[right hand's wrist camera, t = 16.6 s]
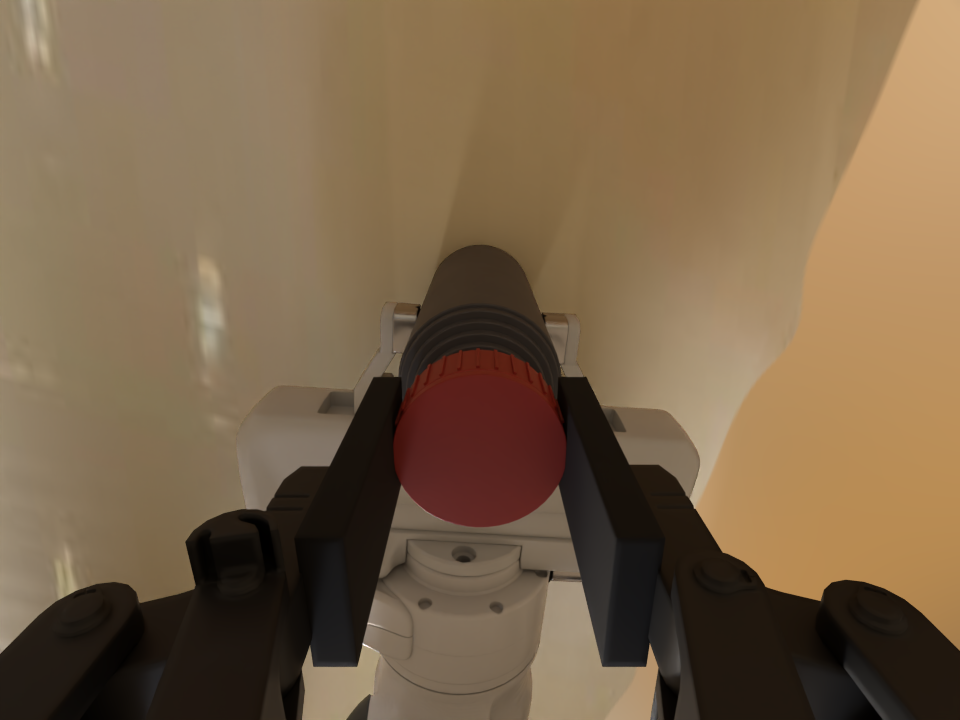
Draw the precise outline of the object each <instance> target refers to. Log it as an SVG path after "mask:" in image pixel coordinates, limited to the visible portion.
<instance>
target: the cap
mask: <svg viewBox="0 0 960 720" xmlns="http://www.w3.org/2000/svg"><path fill="white" fill-rule="evenodd" d="M562 423H564V419H563V416H562V413H561V410H560V407H559V404H558V401H557V399H555V397H554V394H553V391H552V387H551V386H550V385H547V383H546V382H545V380H544V379H543V377H542V374H541V373H540V372H539V373H537V372H536V371H535V370H534V369H533V368H532V367H531V366H530V365H529V363H528V362H526V363H525V362H523V361H521V360H519V359H517V358H515V357H514V355H513V354H511V355H508V354H505V353H501V352H497V350H495V349H494V351H490V350H480V348H476V350H469V351H463V352H462V350H460V351H459V353H455V354H452V355H449V356H447V357H446V356H442V359H440V360H438V361H437V362H435V363H433V364H432V365H431V364H429V365H428V367H427V369H426V370H424V371H423V372H422V373H421V374H420V375H417V376H416V378H415V381H414V383H413V384H412V386H411V388H407V391H406V394H405V397H404V400H403V402H402V403H401V406H400V409H399V412H398V415H397V418H396V421H395V426H396V429H395V433H394V438H393V450H394V465H395V471H396V474H397V476H398V479H399V481H400V483H401V485H402V486H403V488H404V490H405V491H406V492H407V494H408V495H409V496H410V498H411V499H412V500H413V501H414V502H415V503H416V504H417V505H418V506H420V507H421V508H422V509H424V510H425V511H426V512H428V513H430V514H431V515H433V516H435V517H437V518H439V519H441V520H444V521H446V522H449V523H452V524H456V525H461V526H466V527H493V526H499V525H503V524H507V523H511V522H513V521H516V520H519V519H521V518H523V517H525V516H527V515H529V514H530V513H532V512H533V511H535V510H536V509H537V508H539V507H540V506H541V505H542V504H543V503H544V502H545V501H546V500H547V499H548V498H549V497H550V496H551V495H552V493H553V492H554V491H555V489H556V488H557V486H558V484H559V482H560V480H561V478H562V476H563V473H564V470H565V461H566V445H567V440H566V435H565V431H564V428H563V425H562Z"/></svg>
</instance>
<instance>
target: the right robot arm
mask: <svg viewBox="0 0 960 720" xmlns="http://www.w3.org/2000/svg"><path fill="white" fill-rule="evenodd" d="M557 401H558V404H559V407H560V410H561V413H562V416H563V419H564V423H562V425H563V428H564V431H565V435H566V440H567V445H566V461H565V470H564V473H563V476H562V478H561V480H560V482H559V484H558V485H559V489H560V493H561V498H562V502H563V506H564V510H565V514H566V518H567V522H568V526H569V531H570V535H571V539H572V543H573V547H574V551H575V555H576V559H577V564H578V568H579V572H580V576H581V580H582V584H583V588H584V592H585V597H586V601H587V605H588V609H589V613H590V617H591V621H592V626H593V630H594V634H595V638H596V642H597V646H598V650H599V654H600V659H601V663H602V667H646V664H647V658H648V651H649V644H651V647H652V650H653V653H654V656H655V659H656V661H657V664H658V667H659V669H658V675H657V681H656V687H655V693H654V699H653V706H652V712H651V720H960V651H959V650H958V649H957V648H956V647H955V646H954V645H953V644H952V643H951V642H950V641H949V640H948V639H947V638H946V637H945V636H944V635H943V634H942V633H941V632H940V631H939V630H938V629H937V628H936V627H935V626H934V625H933V624H932V623H931V622H930V621H929V620H928V619H927V618H926V617H925V616H924V615H923V614H922V613H921V612H920V611H918V610H917V609H916V608H915V607H913V606H912V605H911V604H910V603H908V602H907V601H906V600H905V599H903V598H901V597H899V596H897V595H895V594H893V593H892V592H890V591H888V590H886V589H884V588H881V587H878V586H875V585H872V584H869V583H866V582H860V581H852V580H842V581H837V582H832V583H831V584H830V585H829V586H828V587H827V588H826V589H824V592H823V595H822V599H821V601H818V600H813V599H809V598H804V597H800V596H796V595H792V594H787V593H783V592H780V591H776V590H773V589H770V588H767V587H765V585H764V583H763V582H762V580H761V579H760V577H759V576H758V574H757V573H756V572H755V571H754V570H753V569H752V568H750V567H749V566H748V565H747V564H745V563H744V562H743V561H741V560H739V559H737V558H735V557H733V556H731V555H729V554H726V553H723V552H722V551H721V549H720V548H719V546H718V544H717V543H716V541H715V540H714V538H713V536H712V535H711V533H710V532H709V530H708V528H707V527H706V525H705V524H704V522H703V520H702V519H701V517H700V515H699V514H698V512H697V511H696V509H694V507H693V504H692V502H691V501H690V499H689V498H688V496H686V493H685V491H684V490H683V488H682V486H681V485H680V483H679V482H678V480H677V478H676V477H675V476H673V475H672V474H671V473H669V472H668V471H667V470H665V469H664V468H663V467H661V466H660V465H629V463H628V461H627V459H626V457H625V455H624V453H623V451H622V449H621V447H620V445H619V443H618V441H617V439H616V437H615V434H614V432H613V430H612V428H611V426H610V424H609V422H608V420H607V418H606V416H605V414H604V412H603V410H602V408H601V406H600V404H599V402H598V400H597V398H596V396H595V394H594V392H593V390H592V388H591V386H590V384H589V382H588V380H587V378H586V377H558V391H557ZM402 402H403V397H402V379H401V377H373V379H372V381H371V383H370V385H369V387H368V389H367V391H366V393H365V395H364V397H363V399H362V401H361V403H360V405H359V407H358V409H357V411H356V413H355V415H354V418H353V420H352V422H351V424H350V426H349V428H348V430H347V432H346V434H345V436H344V438H343V440H342V442H341V444H340V446H339V448H338V450H337V452H336V454H335V456H334V458H333V460H332V462H331V464H330V466H301V467H300V468H298V469H297V470H296V471H294V472H293V473H292V474H290V475H289V476H288V477H286V478H285V479H284V480H283V481H282V483H281V485H280V486H279V488H278V490H277V491H276V493H275V494H274V498H272V499H271V501H270V503H269V504H268V506H267V507H266V511H262V510H259V509H241V510H236V511H232V512H227V513H223V514H221V515H219V516H217V517H214V518H212V519H210V520H208V521H206V522H205V523H203V524H202V525H201V526H199V527H198V528H196V529H195V530H194V531H193V532H192V533H191V535H190V536H189V538H188V539H187V540H186V542H185V543H186V547H187V551H188V555H189V559H190V563H191V567H192V572H193V576H194V580H195V584H196V586H195V589H193V590H191V591H187V592H184V593H181V594H177V595H173V596H169V597H165V598H160V599H156V600H152V601H148V602H143V603H139V600H138V597H137V593H136V591H134V590H133V589H132V588H131V587H130V586H129V585H127V584H122V583H117V582H111V583H102V584H95V585H92V586H89V587H86V588H83V589H80V590H77V591H75V592H73V593H71V594H69V595H68V596H66V597H64V598H62V599H60V600H58V601H56V602H55V603H54V604H52V605H51V606H50V607H49V608H47V609H46V610H45V611H44V612H42V613H41V614H40V615H39V616H38V617H37V618H36V619H35V620H34V621H33V622H32V623H31V624H30V625H29V626H28V627H27V628H26V629H25V630H24V631H23V632H22V633H21V634H20V635H19V636H18V637H17V638H16V639H15V640H14V641H13V642H12V643H11V644H10V645H9V646H8V647H7V648H6V649H5V650H4V651H3V652H2V653H1V654H0V720H302V713H303V703H304V693H305V689H304V681H303V675H302V666H303V663H304V660H305V657H306V655H307V652H308V649H309V646H310V647H311V653H312V660H313V667H357V665H358V661H359V657H360V653H361V649H362V645H363V641H364V636H365V632H366V628H367V624H368V620H369V616H370V612H371V608H372V603H373V599H374V595H375V591H376V587H377V583H378V579H379V575H380V570H381V566H382V562H383V558H384V554H385V550H386V546H387V542H388V537H389V533H390V529H391V525H392V521H393V517H394V513H395V509H396V504H397V500H398V496H399V492H400V488H401V483H400V481H399V479H398V476H397V474H396V471H395V465H394V450H393V438H394V433H395V429H396V426H395V421H396V418H397V415H398V412H399V409H400V406H401V403H402Z"/></svg>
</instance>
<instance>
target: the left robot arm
mask: <svg viewBox="0 0 960 720" xmlns="http://www.w3.org/2000/svg"><path fill="white" fill-rule="evenodd" d="M420 310H421V305H420V304H408V303H398V302H386V303H385V305H384V306H383V308H382V313H381V326H380V347H379V348H378V350H377V351H376V353H375V354H374V356H373V358H372V359H371V361H370V362H369V364H368V366H367V367H366V369H365V370H364V372H363V374H362V375H361V377H360V379H359V381H358V383H357V384H356V386H355V388H354V390H345V389H329V388H314V387H298V386H277V387H275V388H273V389H272V390H271V391H270V392H268V393H267V394H266V395H265V396H264V397H263V398H262V399H261V400H260V401H259V402H258V403H257V404H256V405H255V406H254V407H253V408H252V409H251V410H250V412H249V413H248V414H247V415H246V417H245V418H244V419H243V421H242V423H241V424H240V426H239V429H238V432H237V437H236V449H237V459H238V467H239V474H240V480H241V485H242V491H243V496H244V500H245V505H246V509H259V510H262V511H266V507H267V506H268V504H269V503H270V501H271V499H272V498H274V494H275V493H276V491H277V490H278V488H279V486H280V485H281V483H282V481H283V480H284V479H285V478H286V477H288V476H289V475H290V474H292V473H293V472H294V471H296V470H297V469H298V468H300V467H301V466H330V464H331V462H332V460H333V458H334V456H335V454H336V452H337V450H338V448H339V446H340V444H341V442H342V440H343V438H344V436H345V434H346V432H347V430H348V428H349V426H350V424H351V422H352V420H353V418H354V415H355V413H356V411H357V409H358V407H359V405H360V403H361V401H362V399H363V397H364V395H365V393H366V391H367V389H368V387H369V385H370V383H371V381H372V379H373V377H394V375H393V374H392V373H384V371H385V370H386V368H387V367H388V365H389V364H390V362H391V360H392V359H393V357H394V356H395V354H396V353H403V352H404V350H405V347H406V345H407V342H408V340H409V337H410V335H411V332H412V330H413V327H414V325H415V322H416V320H417V317H418V315H419V312H420ZM541 315H542V318H543V320H544V323H545V325H546V328H547V330H548V333H549V335H550V338H551V340H552V343H553V345H554V348H555V350H556V353H557V355H558V359H559V363H560V365H561V367H562V370H563V372H564V374H565V376H566V377H584V376H583V374H582V372H581V370H580V367H579V365H578V363H577V361H576V358H577V351H578V344H579V337H580V321H579V319H578V318H577V316H576V315H575V314H561V313H543V312H542V314H541ZM601 408H602V410H603V412H604V414H605V416H606V418H607V420H608V422H609V424H610V426H611V428H612V430H613V432H614V434H615V437H616V439H617V441H618V443H619V445H620V447H621V449H622V451H623V453H624V455H625V457H626V459H627V461H628V463H629V465H660V466H661V467H663V468H664V469H665V470H667V471H668V472H669V473H671V474H672V475H673V476H675V477H676V478H677V480H678V482H679V483H680V485H681V486H682V488H683V490H684V491H685V493H686V496H688V498H689V499H690V496H691V493H692V490H693V487H694V484H695V481H696V478H697V475H698V471H699V466H700V458H699V454H698V451H697V449H696V447H695V446H694V444H693V442H692V441H691V439H690V437H689V436H688V434H687V433H686V431H685V430H684V429H683V428H682V427H681V425H680V424H679V423H678V422H677V421H676V420H675V419H674V418H673V416H672V415H671V414H669V413H668V412H666V411H664V410H658V409H644V408H628V407H612V406H601ZM550 580H551V581H554V580H555V581H567V582H582V580H581V576H580V572H579V568H578V564H577V559H576V555H575V551H574V547H573V543H572V539H571V535H570V531H569V526H568V522H567V518H566V514H565V510H564V506H563V502H562V498H561V493H560V489H559V485H558V486H557V488H556V489H555V491H554V492H553V493H552V495H551V496H550V497H549V498H548V499H547V500H546V501H545V502H544V503H543V504H542V505H541V506H540V507H539V508H537V509H536V510H535V511H533V512H532V513H530V514H529V515H527V516H525V517H523V518H521V519H519V520H516V521H513V522H511V523H507V524H503V525H499V526H493V527H466V526H461V525H456V524H452V523H449V522H446V521H444V520H441V519H439V518H437V517H435V516H433V515H431V514H430V513H428V512H426V511H425V510H424V509H422V508H421V507H420V506H418V505H417V504H416V503H415V502H414V501H413V500H412V499H411V498H410V496H409V495H408V494H407V492H406V491H405V490H404V488H403V486H402V485H401V488H400V492H399V496H398V500H397V504H396V509H395V513H394V517H393V521H392V525H391V529H390V533H389V537H388V542H387V546H386V550H385V554H384V558H383V562H382V566H381V570H380V575H379V579H378V583H377V587H376V591H375V595H374V599H373V603H372V608H371V612H370V616H369V620H368V624H367V628H366V632H365V636H364V641H363V645H365V646H367V647H369V648H371V649H373V650H375V651H377V652H379V653H380V658H379V660H378V663H377V667H376V671H375V680H374V695H370V694H369V695H368V696H367V697H366V698H364V699H363V700H362V701H361V702H360V703H359V704H358V706H357V707H356V708H355V709H354V710H353V711H352V713H351V714H350V715H349V717H348V718H347V719H346V720H528V717H529V711H530V705H531V699H532V675H531V669H530V666H531V665H532V663H533V661H534V659H535V656H536V654H537V650H538V647H539V643H540V636H541V630H542V623H543V616H544V609H545V602H546V597H547V589H548V582H550Z"/></svg>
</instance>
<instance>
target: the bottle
mask: <svg viewBox="0 0 960 720" xmlns="http://www.w3.org/2000/svg"><path fill="white" fill-rule="evenodd" d="M476 348H480V350H490V351H494V349H495V350H497V352H501V353H505V354H508V355H511V354H513V355H514V357H515V358H517V359H519V360H521V361H523V362H525V363H526V362H528V363H529V365H530V366H531V367H532V368H533V369H534V370H535V371H536V372H537V373H539V372H540V373H541V374H542V377H543V379H544V380H545V382H546V383H547V385H550V386H551V387H552V391H553V394H554V397H555V399H557V391H558V377H561V369H560V363H559V359H558V355H557V353H556V350H555V348H554V345H553V343H552V340H551V338H550V335H549V333H548V330H547V328H546V325H545V323H544V320H543V318H542V315H541V313H540V310H539V308H538V305H537V303H536V300H535V298H534V295H533V293H532V290H531V288H530V285H529V283H528V280H527V278H526V275H525V273H524V271H523V269H522V268H521V266H520V265H519V263H518V262H517V261H516V260H515V259H514V258H513V257H512V256H510V255H509V254H508V253H506V252H504V251H503V250H501V249H498V248H495V247H492V246H486V245H474V246H468V247H465V248H462V249H460V250H457V251H455V252H454V253H452V254H451V255H450V256H448V257H447V258H446V259H445V260H444V261H443V262H442V263H441V265H440V266H439V268H438V269H437V271H436V273H435V275H434V277H433V280H432V282H431V285H430V287H429V290H428V292H427V295H426V297H425V300H424V302H423V305H422V307H421V310H420V312H419V315H418V317H417V320H416V322H415V325H414V327H413V330H412V332H411V335H410V337H409V340H408V342H407V345H406V347H405V350H404V352H403V355H402V358H401V362H400V367H399V377H401V379H402V397H403V400H404V397H405V394H406V391H407V388H411V386H412V384H413V383H414V381H415V378H416V376H417V375H420V374H421V373H422V372H423V371H424V370H426V369H427V367H428V365H429V364H431V365H432V364H433V363H435V362H437V361H438V360H440V359H442V356H446V357H447V356H449V355H452V354H455V353H459V351H460V350H462V352H463V351H469V350H476Z"/></svg>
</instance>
